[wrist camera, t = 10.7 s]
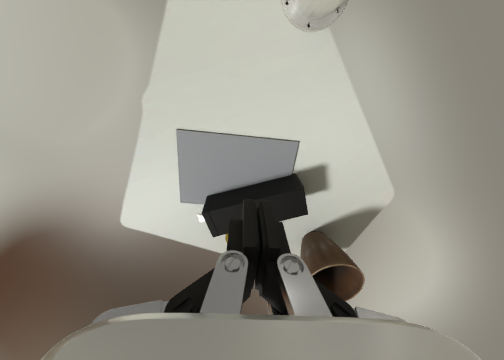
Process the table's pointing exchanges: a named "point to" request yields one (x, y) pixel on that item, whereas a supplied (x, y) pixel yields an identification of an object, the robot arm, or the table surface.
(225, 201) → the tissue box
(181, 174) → the mat
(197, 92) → the table surface
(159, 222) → the table surface
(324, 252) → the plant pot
